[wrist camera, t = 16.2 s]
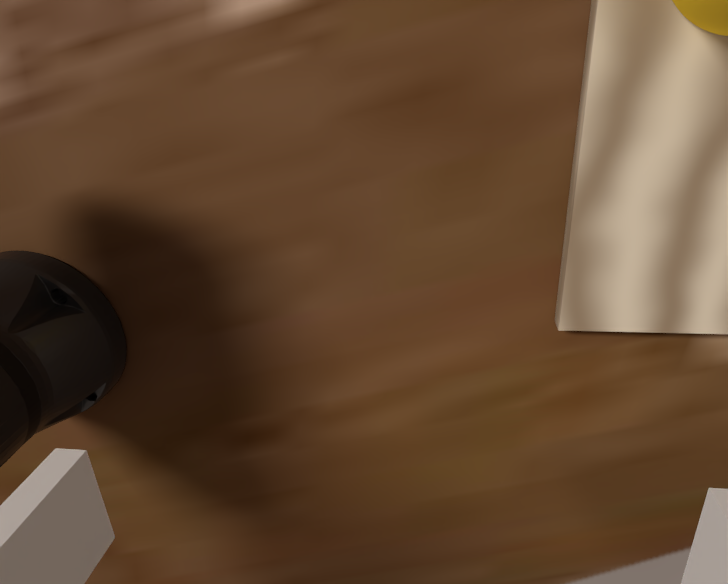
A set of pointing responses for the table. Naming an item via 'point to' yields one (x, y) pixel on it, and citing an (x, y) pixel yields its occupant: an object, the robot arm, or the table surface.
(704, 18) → the tape roll
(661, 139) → the board
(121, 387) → the table surface
